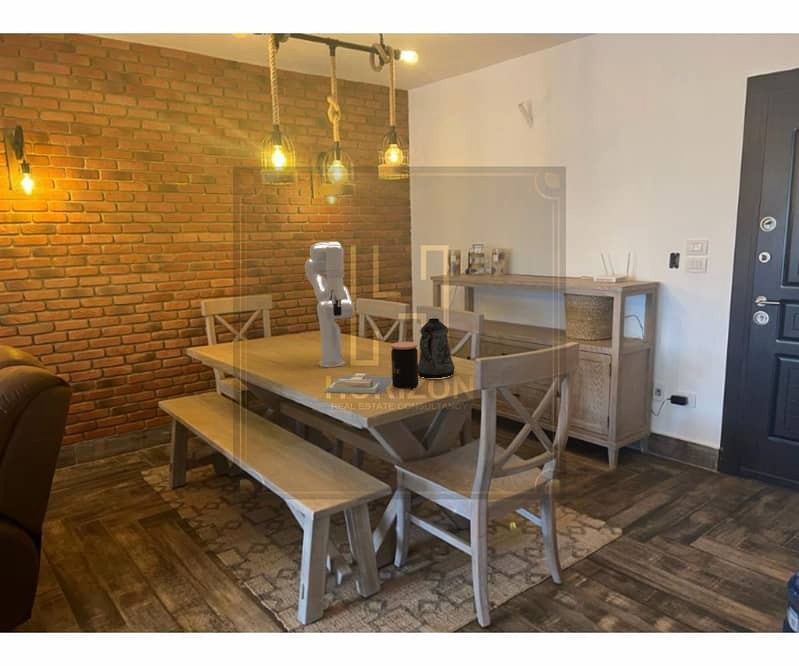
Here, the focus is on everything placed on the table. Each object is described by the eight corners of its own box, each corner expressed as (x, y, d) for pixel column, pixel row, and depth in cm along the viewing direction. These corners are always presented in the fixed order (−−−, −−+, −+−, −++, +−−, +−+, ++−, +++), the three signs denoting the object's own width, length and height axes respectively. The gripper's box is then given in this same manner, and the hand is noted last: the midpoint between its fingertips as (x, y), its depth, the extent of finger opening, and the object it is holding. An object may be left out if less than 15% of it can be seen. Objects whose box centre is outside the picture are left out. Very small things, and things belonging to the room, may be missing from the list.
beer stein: (453, 369, 264) (452, 315, 260) (456, 381, 245) (455, 322, 241) (417, 370, 265) (415, 316, 260) (417, 382, 246) (415, 323, 241)
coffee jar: (391, 384, 244) (390, 342, 240) (417, 383, 244) (415, 341, 241) (393, 391, 233) (391, 347, 230) (419, 390, 234) (418, 346, 231)
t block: (345, 382, 245) (345, 373, 244) (377, 383, 242) (377, 373, 242) (336, 391, 232) (335, 382, 231) (370, 392, 229) (369, 382, 229)
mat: (341, 377, 257) (341, 371, 256) (394, 378, 252) (394, 372, 251) (322, 394, 232) (322, 387, 231) (381, 396, 227) (380, 389, 226)
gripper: (332, 272, 261) (334, 312, 265) (321, 275, 247) (324, 318, 250) (348, 272, 260) (350, 312, 263) (338, 275, 245) (340, 318, 249)
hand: (337, 315), depth 257 cm, fingers closed
